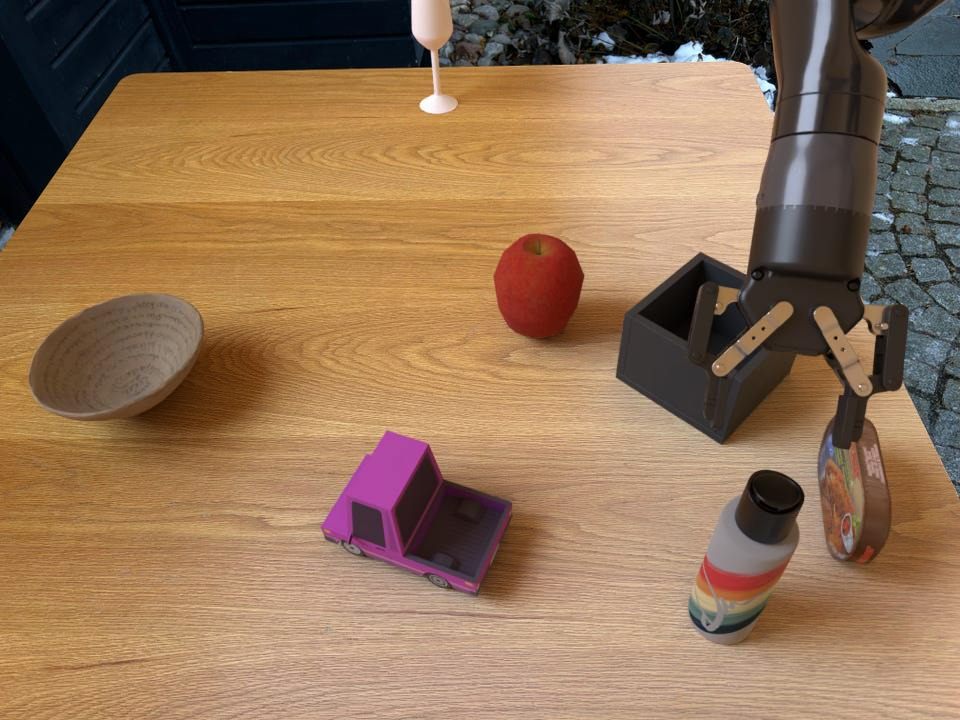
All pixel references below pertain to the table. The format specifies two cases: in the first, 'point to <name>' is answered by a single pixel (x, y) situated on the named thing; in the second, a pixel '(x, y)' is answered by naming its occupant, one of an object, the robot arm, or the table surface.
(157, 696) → the table surface
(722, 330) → the bin
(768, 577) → the lotion bottle
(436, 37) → the champagne flute
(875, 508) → the tin
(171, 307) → the bowl
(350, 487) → the toy truck
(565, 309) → the apple
